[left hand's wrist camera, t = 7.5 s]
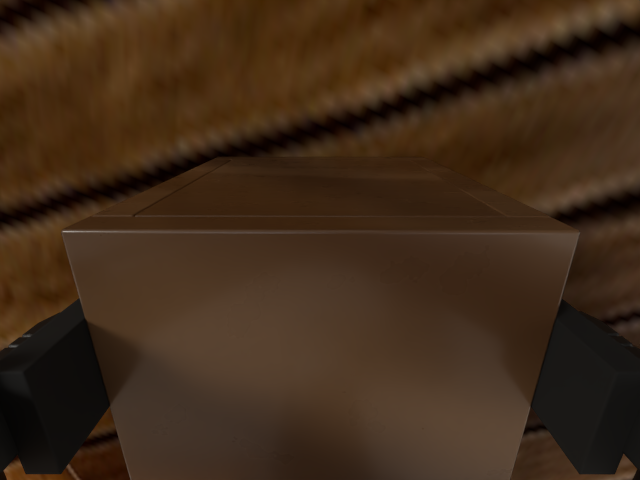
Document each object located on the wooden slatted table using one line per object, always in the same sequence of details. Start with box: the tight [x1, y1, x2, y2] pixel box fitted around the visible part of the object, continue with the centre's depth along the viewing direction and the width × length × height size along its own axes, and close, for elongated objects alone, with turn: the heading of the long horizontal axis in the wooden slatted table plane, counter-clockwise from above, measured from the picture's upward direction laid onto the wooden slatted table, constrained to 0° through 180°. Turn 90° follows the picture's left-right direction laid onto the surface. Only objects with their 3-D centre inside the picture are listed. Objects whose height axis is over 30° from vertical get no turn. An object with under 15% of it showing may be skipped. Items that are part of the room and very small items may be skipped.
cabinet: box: [61, 157, 580, 480], centre depth 16 cm, size 17×11×12 cm, turn 0°
